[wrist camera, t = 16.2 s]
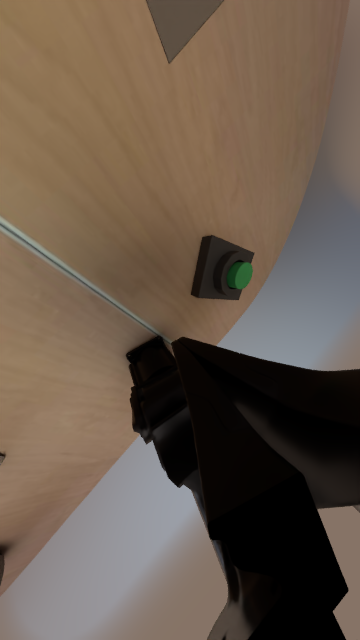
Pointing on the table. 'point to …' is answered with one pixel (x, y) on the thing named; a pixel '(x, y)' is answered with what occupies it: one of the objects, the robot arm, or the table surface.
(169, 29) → the platform
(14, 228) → the table surface
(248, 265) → the button
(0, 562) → the smart speaker
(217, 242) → the control block
